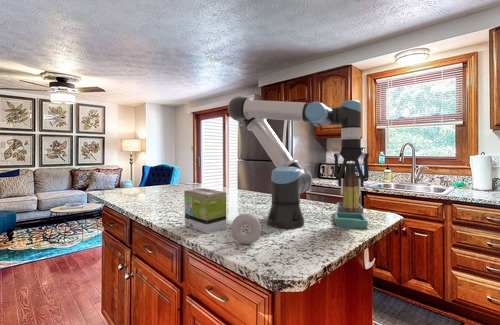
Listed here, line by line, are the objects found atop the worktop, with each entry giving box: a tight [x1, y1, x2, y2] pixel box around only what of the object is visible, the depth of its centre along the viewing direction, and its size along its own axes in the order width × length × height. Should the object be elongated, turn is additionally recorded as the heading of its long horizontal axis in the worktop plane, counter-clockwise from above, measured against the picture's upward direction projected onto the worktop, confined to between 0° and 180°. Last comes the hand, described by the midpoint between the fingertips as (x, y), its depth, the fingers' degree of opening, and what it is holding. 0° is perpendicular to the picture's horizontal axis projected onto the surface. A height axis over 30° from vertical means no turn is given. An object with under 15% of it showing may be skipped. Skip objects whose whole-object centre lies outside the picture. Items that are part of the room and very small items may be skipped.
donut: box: [230, 213, 263, 245], centre depth 85 cm, size 10×4×10 cm, turn 85°
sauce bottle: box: [342, 162, 360, 212], centre depth 109 cm, size 7×6×20 cm
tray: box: [334, 211, 369, 230], centre depth 110 cm, size 12×13×3 cm
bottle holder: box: [336, 202, 364, 215], centre depth 123 cm, size 11×11×5 cm
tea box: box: [183, 187, 227, 234], centre depth 104 cm, size 15×10×15 cm, turn 47°
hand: (350, 194), depth 109 cm, fingers closed on sauce bottle, 6 cm apart
